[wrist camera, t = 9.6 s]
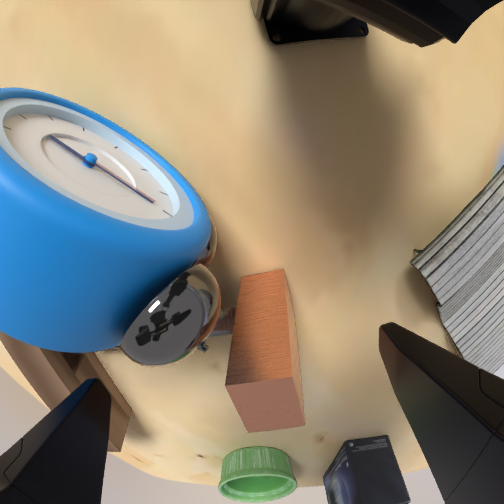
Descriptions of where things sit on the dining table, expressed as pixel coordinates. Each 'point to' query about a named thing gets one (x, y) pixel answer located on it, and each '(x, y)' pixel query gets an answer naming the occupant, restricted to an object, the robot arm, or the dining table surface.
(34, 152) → the alarm clock
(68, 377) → the beam
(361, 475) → the small box
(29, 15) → the dining table surface
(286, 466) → the ramekin
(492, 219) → the mat
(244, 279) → the pin
